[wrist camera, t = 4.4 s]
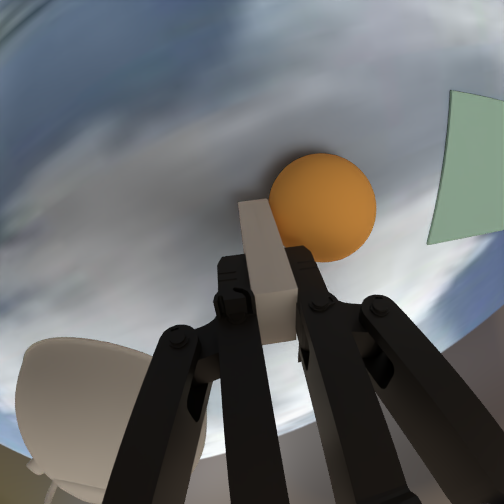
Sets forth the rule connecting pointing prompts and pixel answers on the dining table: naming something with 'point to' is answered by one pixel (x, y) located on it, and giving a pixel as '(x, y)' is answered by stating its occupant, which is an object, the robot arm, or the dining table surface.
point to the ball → (323, 206)
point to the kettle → (79, 410)
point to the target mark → (471, 170)
